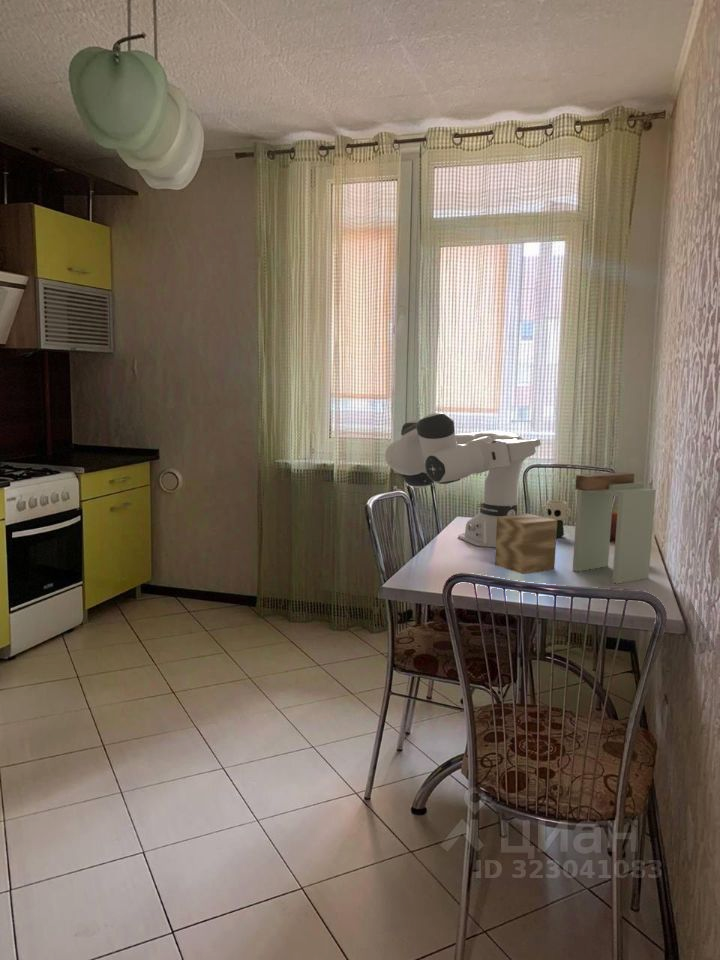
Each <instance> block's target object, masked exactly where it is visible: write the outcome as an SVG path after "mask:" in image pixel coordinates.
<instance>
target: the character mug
mask: <svg viewBox="0 0 720 960" xmlns="http://www.w3.org/2000/svg"><path fill="white" fill-rule="evenodd" d="M567 506H568V502H567V501H564V500H557V499H556V500H555V499H554V500H547V501H546V504H543V505H542V507H541V508H542V509H541V513H542V514H544V515H545V517H546V518H550V519H554V520H557V534H556V538H560V537H563V536H564V535H565V529H564V528H565V527H564V522H563V521H565V519H566V518H570V517H571V516H572V508H571V507H567ZM567 511H568V512H567Z"/></svg>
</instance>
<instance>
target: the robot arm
mask: <svg viewBox="0 0 720 960" xmlns="http://www.w3.org/2000/svg"><path fill="white" fill-rule="evenodd" d="M455 431H456V429H455V422H454V419H453V418H452V417H451V416H450V415H448V414H446V413H445V412H444V413H443V412H434V413H430V414H427V415H426V416H424V417H422V418H421V419H412V420H409V421H407V422H405V423H404V424H403V425H402V427H401V432H400V435H401V439H398V440H396V441H394V442H391V443H390V444H389V445H388V446H387V448H386V450H385V454H384V455H385V456H384V457H385V461H386V464H387V465H388V467H390V469H391V470H393V471H395V472H396V473H399V474H400V476H401V478H403V480H404V482H405V483H406V484H407V486H408V487H409V486H411V487H412V488H417V489H424V488H427V487H428V486H431V485H432V484H434V483H437V484H439V485H448V484H451V483H455V482H459V481H461V480H462V479H465V478H468V477H470V476H471V475H473V474H476V475H477V474H482V473H484V472H485V473H486V472H488V474H487V476H486V477H485V480H484V493H483V494H484V495H483V502H482V503H478V508H480V509H479V512H478V513H477V514H475V515H474V516H473V517H472V518H470V519H469V520H468V521H467V522H466V524H465V531H464V532H463V533H459V534H458V536H457V538H458V539H460V540H462V539H463V540H462V541H465V542H467V543H470V544H472V545H474V546H477V547H488V548H496V531H497V517H499V516H509V515H518V509H519V508H518V503H517V499H518V498H517V497H518V496H517V495H518V483H519V478H520V474H521V471H522V466H523V464H524V461H525V460H526V459H527V458H530V457H532V456H534V455H535V454H536V452H537V451H536V447H540V446H541V440H540V439H539V438H535V439H524V438H523V437H521V436H520V435H518V434H516V433H513V432H509V431H508V432H507V431H503V430H488V431H487V430H486V431H479V432H469V433H468V432H467V433H455Z"/></svg>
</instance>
